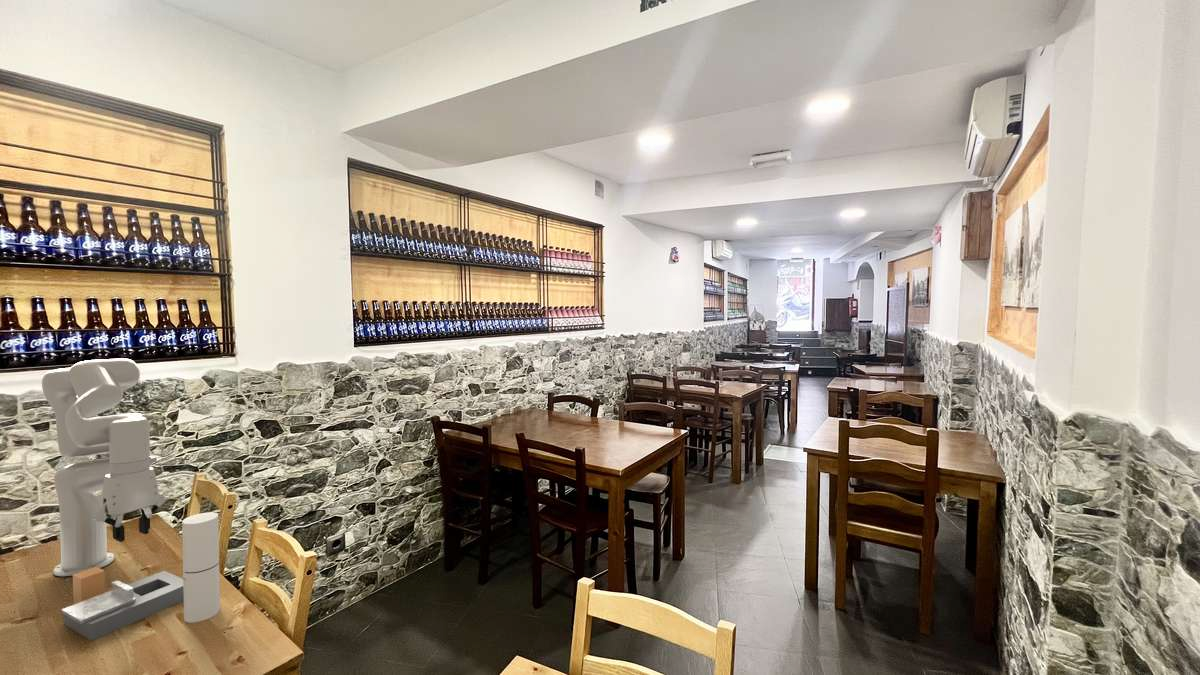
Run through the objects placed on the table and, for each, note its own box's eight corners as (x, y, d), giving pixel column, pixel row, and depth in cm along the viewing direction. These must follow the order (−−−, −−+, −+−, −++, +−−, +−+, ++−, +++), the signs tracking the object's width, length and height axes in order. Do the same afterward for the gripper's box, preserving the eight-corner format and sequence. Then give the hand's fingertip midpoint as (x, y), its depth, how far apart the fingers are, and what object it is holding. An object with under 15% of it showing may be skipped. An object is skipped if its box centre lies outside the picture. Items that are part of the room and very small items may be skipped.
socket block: (64, 624, 120) (63, 608, 120) (164, 584, 138) (163, 570, 138) (91, 640, 114) (91, 624, 114) (191, 596, 132) (191, 582, 132)
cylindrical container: (199, 624, 121) (197, 525, 120) (176, 620, 122) (174, 522, 121) (227, 607, 128) (225, 513, 127) (204, 604, 129) (203, 511, 128)
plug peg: (73, 604, 128) (72, 574, 128) (97, 595, 132) (96, 566, 132) (81, 609, 126) (80, 578, 126) (105, 600, 130) (104, 570, 130)
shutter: (61, 612, 118) (61, 599, 118) (115, 591, 127) (115, 579, 127) (80, 624, 114) (80, 610, 114) (135, 601, 123) (135, 588, 123)
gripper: (162, 456, 134) (164, 521, 135) (78, 473, 119) (80, 547, 120) (177, 460, 131) (179, 527, 132) (92, 478, 116) (94, 554, 117)
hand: (132, 535), depth 126 cm, fingers open, 4 cm apart
